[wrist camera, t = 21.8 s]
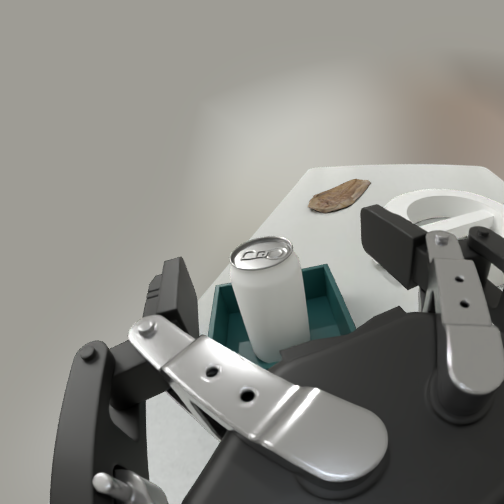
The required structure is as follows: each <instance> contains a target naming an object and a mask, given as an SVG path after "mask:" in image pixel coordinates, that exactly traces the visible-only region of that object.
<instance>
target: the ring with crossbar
mask: <svg viewBox="0 0 504 504" xmlns="http://www.w3.org/2000/svg"><path fill="white" fill-rule="evenodd" d="M384 208H385V209H387V210H388V211H390V212H392V213H395V214H398V215H400V216H402V217H404V218H405V219H406V220H409V221H410V222H412V224H413V223H414V224H415V223H417V222H419V221H422V220H426V219H430V218H441V217H445V218H449V219H445V220H441V221H438V222H434V223H430V224H426V225H423V226H419V227H420V228H422V229H424V230H425V231H427V232H430V231H434V230H442V231H447V232H449V233H452V234H453V235H455V236H456V238H457V239H458V238H461V237H464V236H467V235H468V234H469V229H470V228H471V227H474V226H482V227H486V228H488V229H490V230H492V231H494V232H495V233H497V234H498V235H500V236H501V237H503V238H504V203H503V204H500V203H498V202H496V201H494V200H492V199H489V198H487V197H484V196H481V195H478V194H474V193H470V192H465V191H459V190H451V189H424V190H416V191H411V192H407V193H404V194H401V195H399V196H397V197H395V198H393V199H392V200H390V201H389V202H388V203H387V204H386V206H385V207H384ZM368 255H369V254H368ZM369 256H370V255H369ZM370 257H371V256H370ZM371 258H372V257H371ZM372 259H373V258H372ZM373 260H374V259H373ZM374 261H375V260H374ZM375 263H376V264H377V265H379V263H378V262H377V261H375ZM487 279H488V280H489V281H491V282H492V283H493V284H494V285H495V286H496V287H497V286H500V285H502V284H504V273H503V272H502V271H501V270H500V269H498V268H497V267H496V266H494V265H493V264H492V263H491V267H490V271H489V274H488V278H487Z"/></svg>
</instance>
